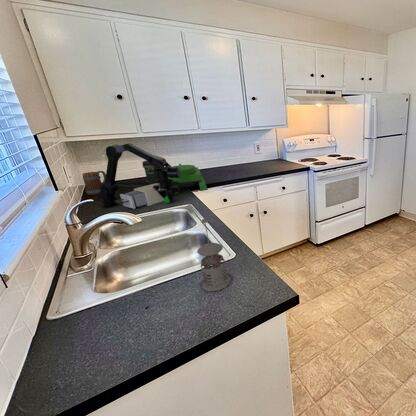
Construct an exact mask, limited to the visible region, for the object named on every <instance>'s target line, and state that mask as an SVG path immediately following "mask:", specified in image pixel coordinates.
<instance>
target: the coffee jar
mask: <svg viewBox="0 0 416 416" xmlns="http://www.w3.org/2000/svg"><path fill="white" fill-rule="evenodd" d="M141 164H142V168H143V169H144V172H145V173H144V174H145V178H146V182H147V185H151V184H155V183H157V184H159V182H157V180H158V175H157V172H153V170H154V168H155V167H154V166H152V165H151V164H150V163H149V162H148V161H147V160H143V161H142V163H141Z"/></svg>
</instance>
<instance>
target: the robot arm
mask: <svg viewBox="0 0 416 416" xmlns="http://www.w3.org/2000/svg"><path fill="white" fill-rule="evenodd" d="M124 152H128V153H131V154H133V155H135V156H137V157H139V158H141V159H143V160H144V161H148V162H149V163H150V164H151V165H152V166H154V167H155V168H154V170H153V172H157V175H158V180H157V182H159V183H157V184H158V185H154V186H153V189H155V191H156V190H157V189H158V191H157V192H158V193H159V194H160V195H161V196H162V197H163V198H165V197H166V196H167V197H168V199H169V200H170V202H171V203H173V201H174V196H175V195H174V193H176V192H179V193H180V188H179V185H180V183H179V182H177V181H173V179H169V177H170V178H180V177H181V171H180V169H179V168H178V167H172V165H171V164H170V163H169V162H168V161H167V159H166V158H165V157H162V156H159V155H154V154H152V153H150V152H148V151H146V150H144V149H142V148H140V147H138V146H137V145H134V144H133V143H131V142H128V143H124V144H121V145H119V144H112V145H109V146H107V147H106V148H105V156H106V158H107V164H106V172H105V174H106V178H105V182H104V183H103V184H102V186H101V189H100V193H99V194H97V195H96V197H97V198H98V199H100V200H101V203H102V205H101V206H102V207H104V208H107V209H108V208H111V207H114V206H118V205H119V203H116V202H115V200H118V199H117V197H116V192H117V191H119V183H117V182H116V177H117V171H118V164H119V160H120V159H121V157H122V156H123V153H124ZM173 186H177V187H173ZM170 187H171V188H170Z"/></svg>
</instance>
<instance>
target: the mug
mask: <svg viewBox="0 0 416 416" xmlns="http://www.w3.org/2000/svg"><path fill="white" fill-rule="evenodd" d="M100 173H101V174H102V176H100ZM102 177H103V180H101V178H102ZM105 178H106V172H105V171H104V170H98V171H88V172H83V173H82V180H83V183H84V187H85V192H86V194H87V195H89V196H97V195H98V194H99V193H100V189H101V186H102V184H103V183H104V182H105Z"/></svg>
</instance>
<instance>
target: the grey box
mask: <svg viewBox="0 0 416 416" xmlns="http://www.w3.org/2000/svg"><path fill="white" fill-rule="evenodd" d="M158 184H159V183H155V184H147V185H143V186H139V187H136V188H133V191H140V192H145V195H146V199H147V203H148V204H145V205H144V206H147V207H149V206H153V205H157V204H160V203H162V202H165V201H164V198H163V197H162V196H161V195H160V194H159V193H158V192H157V191H158V189H157V190H156V191H155V189H153V186H154V185H158Z"/></svg>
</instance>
